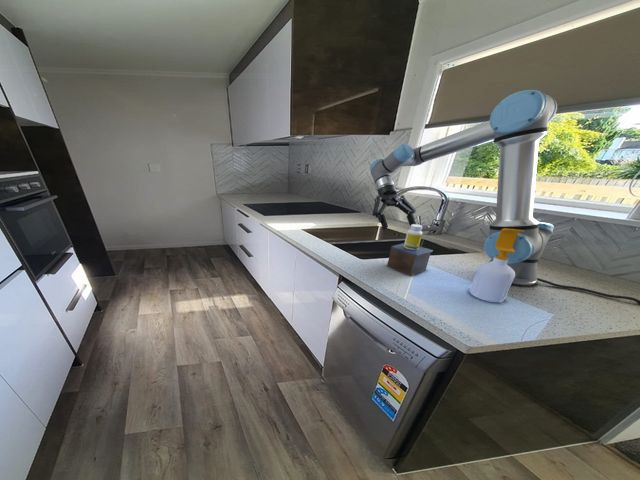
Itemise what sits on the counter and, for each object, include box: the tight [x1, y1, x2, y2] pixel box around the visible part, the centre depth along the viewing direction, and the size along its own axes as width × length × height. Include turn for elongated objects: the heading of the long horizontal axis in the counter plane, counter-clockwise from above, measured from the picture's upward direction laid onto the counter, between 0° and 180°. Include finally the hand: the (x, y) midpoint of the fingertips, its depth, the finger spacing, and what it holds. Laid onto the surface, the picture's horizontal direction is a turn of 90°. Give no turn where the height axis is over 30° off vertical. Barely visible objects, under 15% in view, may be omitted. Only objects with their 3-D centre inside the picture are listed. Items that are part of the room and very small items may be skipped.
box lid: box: [390, 242, 434, 256], centre depth 102 cm, size 11×11×1 cm
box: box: [386, 247, 432, 277], centre depth 104 cm, size 11×11×9 cm
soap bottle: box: [469, 228, 524, 303], centre depth 80 cm, size 9×9×25 cm
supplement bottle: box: [403, 223, 424, 250], centre depth 100 cm, size 5×5×10 cm
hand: (399, 227), depth 108 cm, fingers open, 13 cm apart
